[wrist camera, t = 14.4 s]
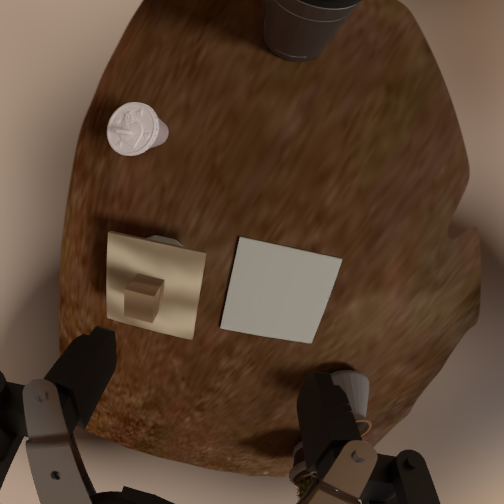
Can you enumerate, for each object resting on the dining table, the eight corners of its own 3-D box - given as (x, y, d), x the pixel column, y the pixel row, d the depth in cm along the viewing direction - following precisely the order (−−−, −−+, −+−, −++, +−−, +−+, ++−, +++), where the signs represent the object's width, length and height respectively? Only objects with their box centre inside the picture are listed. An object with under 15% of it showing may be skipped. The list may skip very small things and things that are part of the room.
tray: (239, 236, 42) (239, 237, 42) (341, 258, 43) (342, 259, 43) (220, 326, 47) (220, 328, 47) (310, 341, 48) (311, 343, 48)
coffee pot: (327, 358, 50) (347, 418, 36) (374, 366, 51) (401, 420, 37) (283, 424, 56) (289, 478, 42) (327, 429, 58) (338, 478, 43)
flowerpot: (351, 425, 58) (371, 490, 39) (331, 456, 63) (343, 513, 44) (294, 427, 57) (304, 499, 38) (280, 457, 62) (285, 519, 43)
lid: (110, 230, 37) (90, 243, 31) (206, 251, 38) (199, 268, 32) (109, 315, 41) (93, 335, 35) (193, 336, 42) (186, 360, 36)
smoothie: (140, 159, 38) (93, 164, 25) (132, 119, 36) (83, 107, 23) (181, 148, 38) (147, 146, 25) (173, 106, 36) (137, 86, 23)
